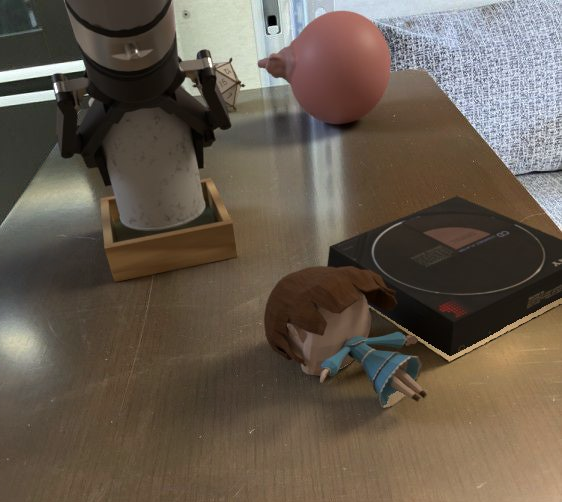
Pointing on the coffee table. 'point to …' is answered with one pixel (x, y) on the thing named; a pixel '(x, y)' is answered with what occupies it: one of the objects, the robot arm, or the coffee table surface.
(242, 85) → the game die
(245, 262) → the coffee table surface
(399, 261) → the portable cd player
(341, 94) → the balloon
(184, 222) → the speckled white tin can
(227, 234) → the wooden box
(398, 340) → the figurine
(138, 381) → the coffee table surface
